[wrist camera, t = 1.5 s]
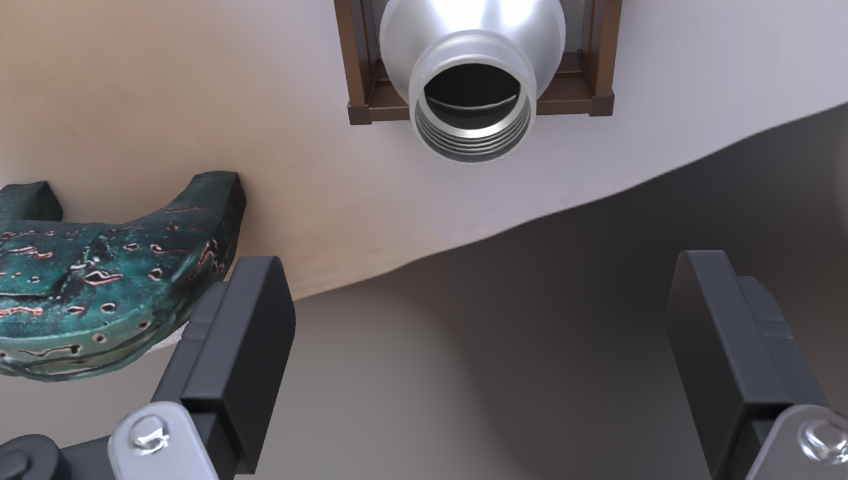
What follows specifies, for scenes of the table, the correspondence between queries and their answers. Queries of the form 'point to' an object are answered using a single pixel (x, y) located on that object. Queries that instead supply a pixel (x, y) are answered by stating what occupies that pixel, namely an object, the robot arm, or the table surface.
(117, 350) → the ceramic cat
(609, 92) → the crate
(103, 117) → the table surface
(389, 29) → the metal water bottle
